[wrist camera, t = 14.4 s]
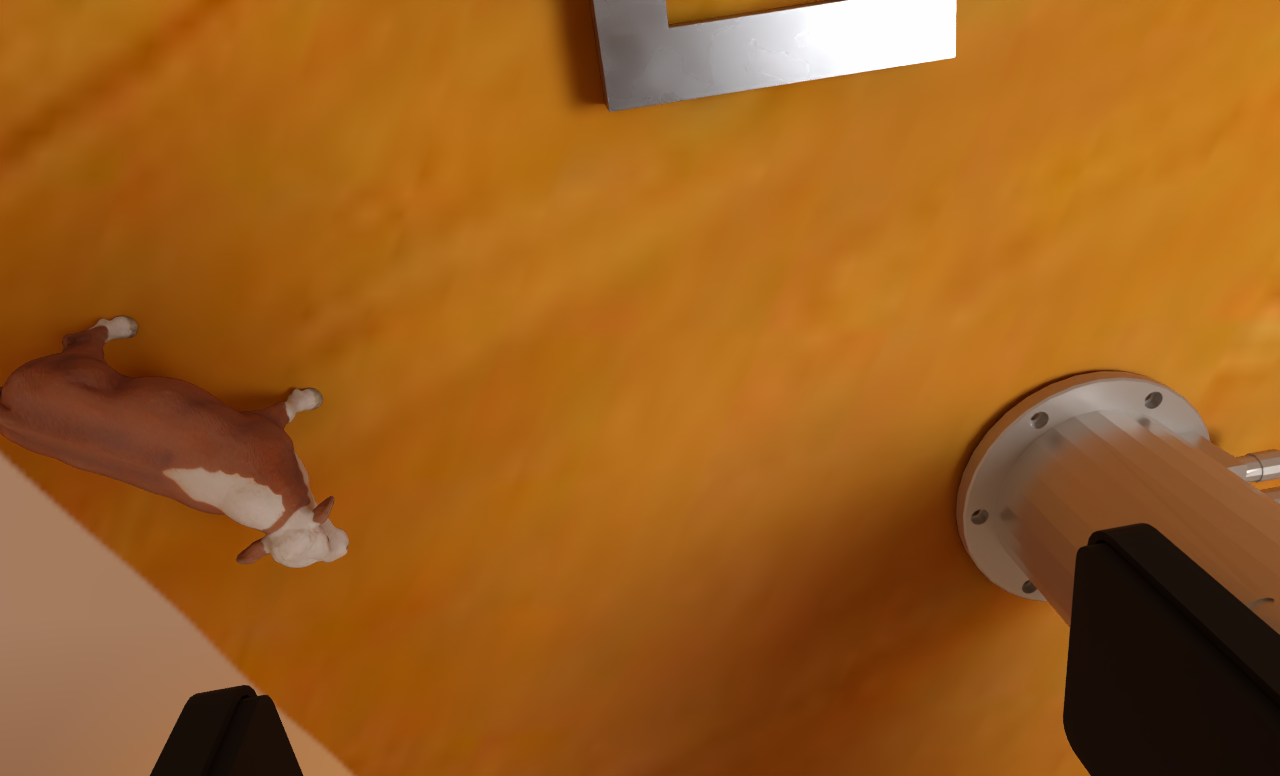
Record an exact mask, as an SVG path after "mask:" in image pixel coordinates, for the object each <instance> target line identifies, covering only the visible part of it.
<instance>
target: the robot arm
mask: <svg viewBox="0 0 1280 776" xmlns="http://www.w3.org/2000/svg"><path fill="white" fill-rule="evenodd" d="M1279 478H1280V451H1279V450H1276V449H1272V450H1266V451H1261V452H1255V453H1249V454H1247V455H1245V456H1241V457H1234V456H1232V455H1231V454H1229V453H1227V452H1225V451H1224V450H1222V449H1221V448H1219V447H1218V446H1216V445H1215V444H1213V443H1212V442H1211V441H1210V437H1209V433H1208V429H1207V427H1206V425H1205V424H1204V422H1203V420H1202V418H1201V416H1200V414H1199V413H1198V411H1197V410H1196V409H1195V408H1194V407H1193V406H1192V405H1191V404H1190V403H1189V402H1188V401H1187V400H1186V399H1185V398H1184V397H1183V396H1181V395H1180V394H1178V393H1177V392H1175V391H1174V390H1172V389H1171V388H1169V387H1168V386H1166V385H1164V384H1162V383H1160V382H1158V381H1156V380H1153V379H1151V378H1149V377H1147V376H1143V375H1139V374H1134V373H1129V372H1124V371H1099V372H1093V373H1087V374H1082V375H1076V376H1073V377H1070V378H1067V379H1064V380H1062V381H1059V382H1056V383H1053V384H1050V385H1049V386H1047V387H1045V388H1043V389H1041V390H1039V391H1037V392H1035V393H1034V394H1032V395H1030V396H1028V397H1027V398H1025V399H1024V400H1023V401H1021V402H1020V403H1019V404H1017V405H1016V406H1015V407H1013V408H1012V409H1011V410H1009V411H1008V412H1007V413H1006V414H1005V415H1004V416H1003V417H1002V418H1001V419H1000V420H999V421H998V422H997V423H996V424H995V425H994V426H993V427H992V428H991V429H990V430H989V431H988V432H987V433H986V435H985V436H984V438H983V439H982V440H981V442H980V443H979V445H978V446H977V447H976V449H975V450H974V452H973V454H972V456H971V458H970V460H969V462H968V464H967V466H966V468H965V470H964V472H963V476H962V479H961V483H960V486H959V490H958V494H957V507H956V519H957V525H958V531H959V536H960V538H961V540H962V543H963V545H964V548H965V550H966V552H967V553H968V555H969V556H970V558H971V559H972V560H973V562H974V563H975V565H976V566H977V567H978V569H979V570H980V571H981V572H982V573H983V574H984V575H985V576H986V577H987V578H988V579H989V580H990V581H991V582H992V583H994V584H995V585H997V586H998V587H1000V588H1002V589H1003V590H1005V591H1006V592H1008V593H1011V594H1013V595H1016V596H1018V597H1021V598H1025V599H1030V600H1037V601H1043V602H1049V603H1050V605H1051V606H1052V607H1053V608H1054V609H1055V611H1056V612H1057V613H1058V614H1059V615H1060V616H1061V618H1062V619H1063V620H1064V621H1065V622H1066V624H1067V625H1068V626H1069V627H1070V637H1069V649H1068V662H1067V674H1066V687H1065V700H1064V712H1063V724H1064V729H1065V733H1066V736H1067V739H1068V741H1069V743H1070V746H1071V747H1072V749H1073V751H1074V752H1075V754H1076V755H1077V757H1078V758H1079V760H1080V761H1081V762H1082V764H1083V765H1084V767H1085V768H1086V769H1087V771H1088V772H1089V774H1090V775H1091V776H1280V486H1279V487H1274V488H1268V489H1263V490H1258V489H1257V488H1255V487H1254V486H1252V485H1251V484H1249V483H1248V482H1262V481H1268V480H1273V479H1279ZM150 776H303V774H302V771H301V769H300V767H299V764H298V762H297V759H296V757H295V754H294V752H293V749H292V747H291V744H290V742H289V739H288V737H287V734H286V732H285V730H284V727H283V725H282V722H281V720H280V717H279V715H278V712H277V710H276V707H275V705H274V703H273V701H272V699H271V698H270V697H269V696H268V695H261V696H257V695H256V693H255V691H254V689H252V688H251V687H250V686H248V685H242V686H236V687H231V688H225V689H220V690H214V691H209V692H203V693H198V694H195V695H193V696H192V697H190V698H189V700H188V701H187V703H186V704H185V706H184V708H183V710H182V712H181V714H180V716H179V718H178V720H177V722H176V724H175V726H174V728H173V730H172V732H171V734H170V736H169V738H168V740H167V743H166V744H165V746H164V748H163V751H162V753H161V754H160V756H159V759H158V761H157V763H156V764H155V767H154V768H153V770H152V773H151V774H150Z"/></svg>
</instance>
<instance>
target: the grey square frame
mask: <svg viewBox="0 0 1280 776" xmlns="http://www.w3.org/2000/svg"><path fill="white" fill-rule="evenodd" d="M589 1H590V7H591V14H592V21H593V28H594V34H595V41H596V48H597V55H598V61H599V68H600V75H601V81H602V88H603V95H604V102H605V105H606V107H607V108H608V110H609V112H611V111H618V110H624V109H630V108H637V107H643V106H649V105H656V104H662V103H668V102H675V101H681V100H687V99H694V98H700V97H706V96H713V95H719V94H725V93H732V92H738V91H744V90H751V89H757V88H763V87H770V86H776V85H782V84H789V83H795V82H802V81H808V80H814V79H821V78H827V77H833V76H840V75H846V74H852V73H859V72H865V71H871V70H878V69H884V68H890V67H897V66H903V65H909V64H916V63H922V62H928V61H935V60H941V59H947V58H954V57H956V0H826V1H820V2H813V3H807V4H800V5H794V6H787V7H781V8H774V9H768V10H761V11H755V12H748V13H742V14H735V15H729V16H722V17H716V18H709V19H703V20H696V21H690V22H683V23H677V24H670V25H668V19H667V10H666V2H665V0H589Z"/></svg>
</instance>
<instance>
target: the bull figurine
mask: <svg viewBox="0 0 1280 776" xmlns="http://www.w3.org/2000/svg"><path fill="white" fill-rule="evenodd" d="M137 327H138V326H137V323H136V322H135V321H134V320H133V319H131V318H129V317H126V316H119V317H115V318H113V319H112V320H111V321H108V320H106V319H103V318H102V319H100V320H99V321H98V322H97V323H96V325H95V326H93V327H91V328H89V329H87V330H85V331H82V332H79V333H75V334H68V335H65V336H64V337H63V339H62V343H63V347H64V349H63V352H62V353H59V354H53V355H49V356H45V357H42V358H38V359H35V360H32V361H30V362H28V363H26V364H24V365H22V366H20V367H19V368H18V369H17V370H15V371H14V372H13V373H12V374H11V375H10V376H9V378H8V379H7V381H6V383H5V384H4V386H3V387H0V432H1V433H2V435H3V436H5V437H6V438H7V439H9V440H10V441H12V442H14V443H16V444H18V445H20V446H22V447H24V448H26V449H28V450H30V451H33V452H35V453H38V454H41V455H45V456H49V457H52V458H55V459H58V460H60V461H62V462H64V463H66V464H68V465H70V466H73V467H75V468H78V469H81V470H85V471H89V472H93V473H97V474H100V475H104V476H107V477H110V478H113V479H116V480H119V481H122V482H125V483H128V484H131V485H134V486H136V487H139V488H141V489H144V490H146V491H149V492H152V493H155V494H158V495H162V496H165V497H169V498H172V499H175V500H177V501H179V502H181V503H183V504H185V505H187V506H188V507H191V508H194V509H197V510H199V511H202V512H206V513H211V514H226V515H227V516H228V517H230V518H232V519H233V520H235V521H236V522H238V523H240V524H242V525H244V526H248V527H251V528H254V529H257V530H260V531H263V532H264V533H266V536H265V537H263V538H262V539H259V540H257V541H255V542H253V543H252V544H251V545H250V546H249V547H248V548H247V549H245V550H243V551H242V552H241V553H240V554H239V555H238V557H237V559H236V560H237V562H238V563H240V564H250V563H253V562H255V561H256V560H258V559H259V558H261V557H263V556H265V555H267V554H271V555H272V557H273V559H274V560H275V561H276V562H278V563H281V564H283V565H285V566H287V567H295V568H299V567H306V566H309V565H311V564H313V563H315V562H318V561H324V562H332V561H334V560H336V559H338V558H340V557H342V556H344V555H345V554H346V553H347V547H348V545H349V539H348V536H347V534H346V533H345V532H344V531H343V530H342V529H339V528H335V527H334V526H333V524H332V523H331V521H330V520H329V519H328V515H329V513H330V511H331V508H332V506H333V504H334V497H333V496H330V497H329V498H327V499H326V500H324V501H323V502H322V503H320V504H319V505H317V503H316V502H315V500H314V497H313V495H312V492H311V490H310V488H309V477H308V473H307V471H306V469H305V466H304V465H303V463H302V462H301V460H300V459H299V457H298V455H297V454H296V452H295V451H294V447H293V442H292V440H291V438H290V437H289V436H288V435H287V433H286V432H285V431H284V427H285V425H286V423H290V422H291V421H292V420H293V418H294V417H295V414H296V413H297V412H301V411H303V410H313V409H315V408H317V407H319V406H320V405H321V403H322V400H323V398H322V395H321V394H320V393H319V391H317V390H316V389H313V388H307V389H305V390H303V391H301V390H299V389H295V390H294V391H293V392H292V394H291V395H289V396H288V398H287V401H286V402H278V403H276V404H274V405H272V406H269V407H267V408H264V409H259V410H254V411H243V412H239V411H235V410H234V409H232V408H230V407H228V406H227V405H226V404H224V403H223V402H222V401H220V400H219V399H217V398H216V397H214V396H213V395H211V394H210V393H208V392H207V391H205V390H203V389H201V388H199V387H197V386H195V385H193V384H191V383H188V382H186V381H182V380H179V379H174V378H168V377H138V378H130V377H127V376H124V375H121V374H120V373H118V372H117V371H115V370H114V369H112V368H111V367H110V366H109V365H108V364H107V363H106V361H105V360H104V352H103V345H104V344H105V343H106V342H107V341H109V340H112V339H123V338H130V337H133V336H135V335H136V333H137Z"/></svg>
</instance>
